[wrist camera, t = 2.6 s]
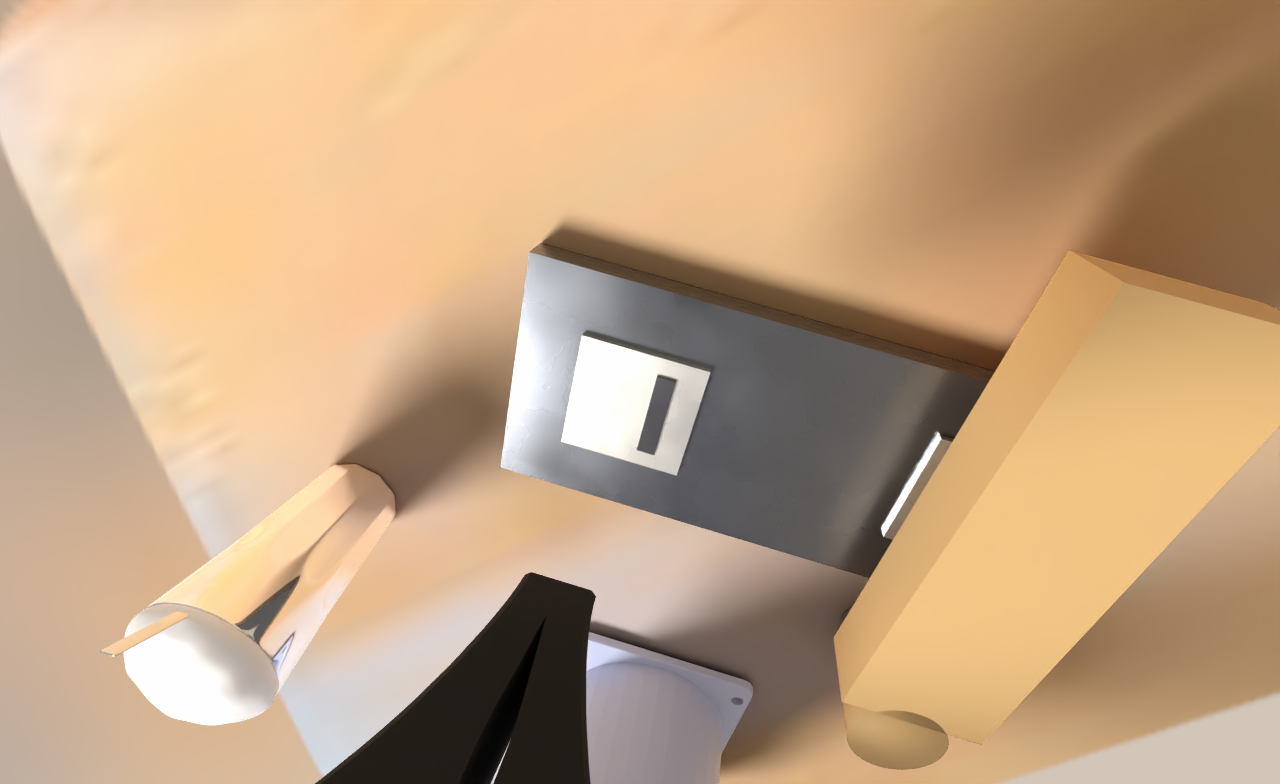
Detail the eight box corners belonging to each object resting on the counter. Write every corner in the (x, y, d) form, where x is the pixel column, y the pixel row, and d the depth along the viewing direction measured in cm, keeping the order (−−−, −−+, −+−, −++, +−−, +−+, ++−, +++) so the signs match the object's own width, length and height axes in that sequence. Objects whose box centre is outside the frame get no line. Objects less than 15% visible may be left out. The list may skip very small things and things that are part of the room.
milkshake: (408, 445, 23) (193, 677, 14) (415, 548, 25) (236, 795, 17) (298, 420, 23) (23, 630, 15) (315, 523, 26) (91, 753, 17)
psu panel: (1046, 611, 21) (1061, 641, 20) (510, 451, 22) (496, 472, 21) (1201, 429, 17) (1232, 455, 16) (540, 243, 18) (525, 254, 17)
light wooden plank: (925, 717, 22) (942, 786, 20) (807, 680, 22) (812, 745, 20) (1263, 302, 13) (1354, 345, 11) (1069, 249, 14) (1125, 282, 12)
